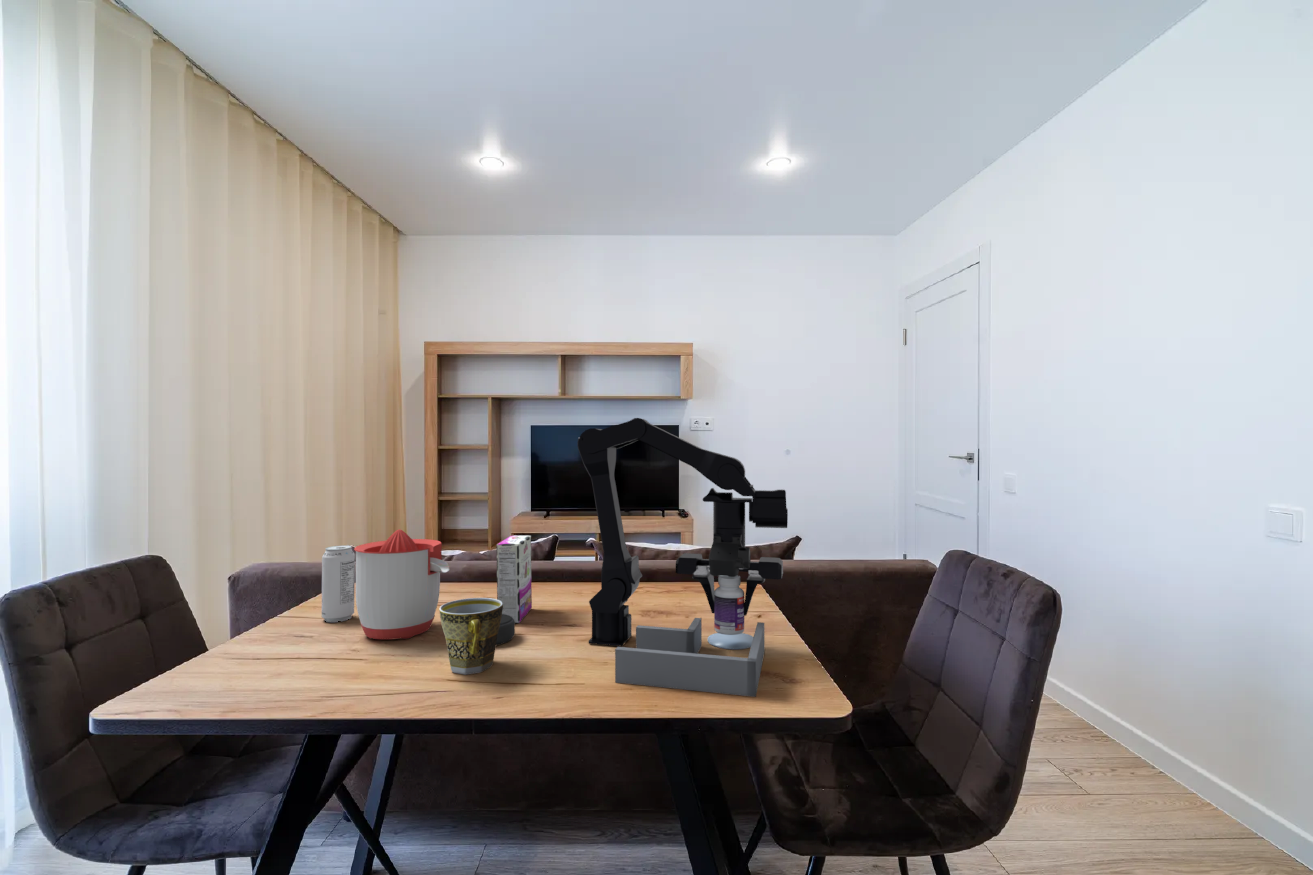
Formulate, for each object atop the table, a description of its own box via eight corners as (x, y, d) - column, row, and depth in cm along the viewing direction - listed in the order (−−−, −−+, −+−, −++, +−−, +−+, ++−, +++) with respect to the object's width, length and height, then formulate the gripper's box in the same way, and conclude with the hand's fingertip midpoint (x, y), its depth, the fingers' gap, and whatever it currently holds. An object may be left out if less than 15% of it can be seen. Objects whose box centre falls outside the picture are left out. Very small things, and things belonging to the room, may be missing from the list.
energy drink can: (334, 614, 125) (335, 544, 125) (360, 615, 124) (361, 545, 124) (314, 622, 119) (315, 549, 119) (341, 623, 118) (342, 550, 118)
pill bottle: (743, 636, 100) (743, 580, 101) (712, 634, 101) (712, 578, 102) (745, 627, 106) (745, 573, 106) (716, 625, 107) (716, 572, 107)
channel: (615, 682, 88) (615, 649, 88) (648, 641, 107) (648, 614, 107) (755, 696, 83) (755, 661, 83) (764, 651, 101) (764, 622, 101)
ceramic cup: (437, 660, 97) (437, 601, 97) (498, 652, 101) (498, 595, 101) (441, 690, 85) (441, 622, 85) (510, 679, 89) (510, 614, 89)
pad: (703, 647, 103) (703, 645, 103) (711, 631, 112) (711, 630, 112) (754, 651, 101) (754, 649, 101) (758, 635, 110) (758, 633, 110)
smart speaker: (474, 632, 113) (475, 612, 113) (520, 633, 112) (520, 612, 112) (457, 648, 104) (458, 626, 104) (506, 648, 103) (506, 626, 103)
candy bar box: (509, 608, 129) (510, 535, 129) (532, 608, 129) (532, 535, 129) (495, 623, 118) (495, 543, 118) (519, 623, 118) (519, 543, 118)
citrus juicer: (430, 645, 105) (431, 535, 105) (335, 645, 105) (336, 535, 105) (461, 620, 120) (461, 524, 121) (379, 619, 121) (379, 523, 121)
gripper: (668, 531, 99) (668, 622, 98) (779, 535, 94) (780, 632, 93) (682, 522, 109) (682, 605, 109) (782, 526, 105) (783, 613, 104)
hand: (729, 613), depth 104 cm, fingers closed on pill bottle, 5 cm apart
